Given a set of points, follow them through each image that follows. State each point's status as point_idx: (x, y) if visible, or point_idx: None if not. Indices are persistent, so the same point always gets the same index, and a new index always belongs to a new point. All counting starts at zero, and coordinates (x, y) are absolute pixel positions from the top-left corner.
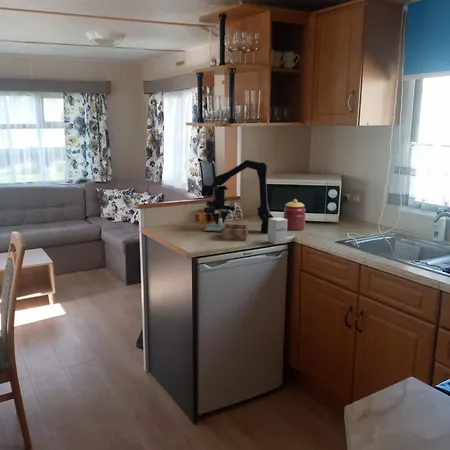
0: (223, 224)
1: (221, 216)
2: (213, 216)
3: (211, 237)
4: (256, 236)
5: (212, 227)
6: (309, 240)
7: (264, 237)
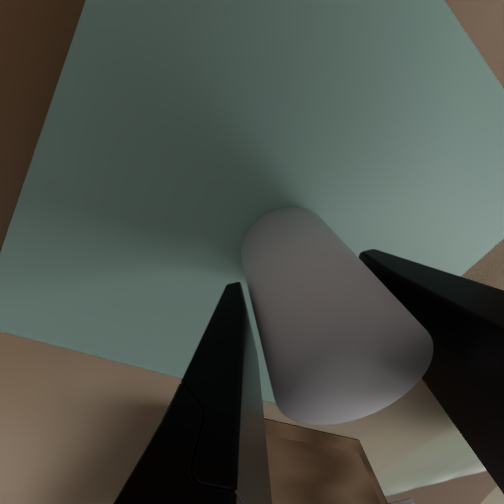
0: (461, 101)
1: (501, 344)
2: (139, 482)
3: (69, 464)
4: (385, 455)
5: (149, 270)
6: (494, 495)
7: (402, 469)
